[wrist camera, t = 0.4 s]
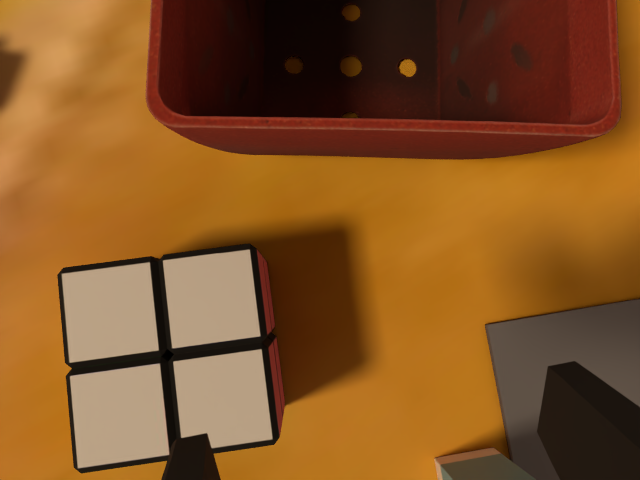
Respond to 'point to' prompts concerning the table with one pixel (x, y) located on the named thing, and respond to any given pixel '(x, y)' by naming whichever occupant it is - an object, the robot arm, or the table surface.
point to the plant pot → (385, 76)
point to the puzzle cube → (170, 355)
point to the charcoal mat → (556, 348)
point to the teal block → (479, 466)
